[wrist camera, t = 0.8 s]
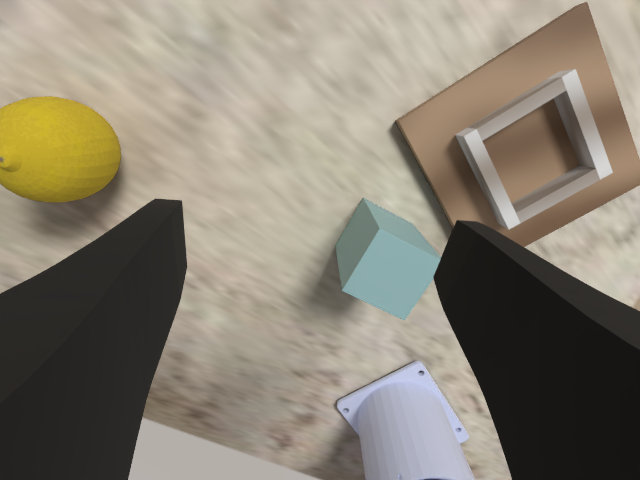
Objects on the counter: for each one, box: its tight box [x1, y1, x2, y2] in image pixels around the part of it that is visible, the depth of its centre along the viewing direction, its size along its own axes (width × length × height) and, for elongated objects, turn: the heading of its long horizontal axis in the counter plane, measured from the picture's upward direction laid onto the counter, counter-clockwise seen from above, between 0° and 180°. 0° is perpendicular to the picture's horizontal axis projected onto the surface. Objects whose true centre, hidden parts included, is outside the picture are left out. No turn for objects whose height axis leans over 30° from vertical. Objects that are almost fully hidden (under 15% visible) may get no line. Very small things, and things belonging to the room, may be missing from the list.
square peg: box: [335, 198, 441, 320], centre depth 23 cm, size 4×4×7 cm
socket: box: [396, 2, 640, 247], centre depth 23 cm, size 12×12×2 cm
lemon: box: [0, 96, 121, 202], centre depth 20 cm, size 6×6×8 cm
